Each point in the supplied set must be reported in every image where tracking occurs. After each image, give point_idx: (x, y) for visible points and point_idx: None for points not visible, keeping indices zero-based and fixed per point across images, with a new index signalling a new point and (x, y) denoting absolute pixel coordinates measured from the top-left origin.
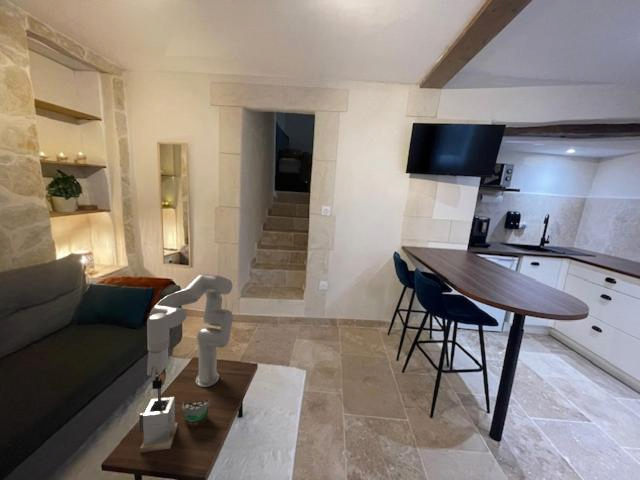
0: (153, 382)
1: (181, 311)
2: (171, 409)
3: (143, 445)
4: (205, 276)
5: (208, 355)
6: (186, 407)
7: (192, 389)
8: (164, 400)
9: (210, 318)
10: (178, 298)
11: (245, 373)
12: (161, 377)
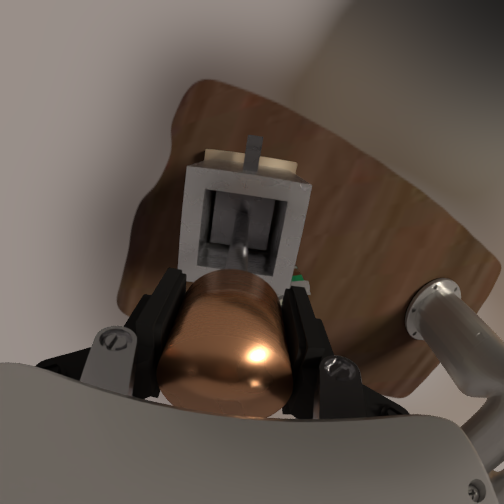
0: (146, 314)
1: None
2: None
3: (213, 156)
4: None
5: (464, 381)
6: (281, 301)
7: (417, 271)
8: (277, 251)
9: None
10: None
11: (398, 389)
12: (177, 400)
